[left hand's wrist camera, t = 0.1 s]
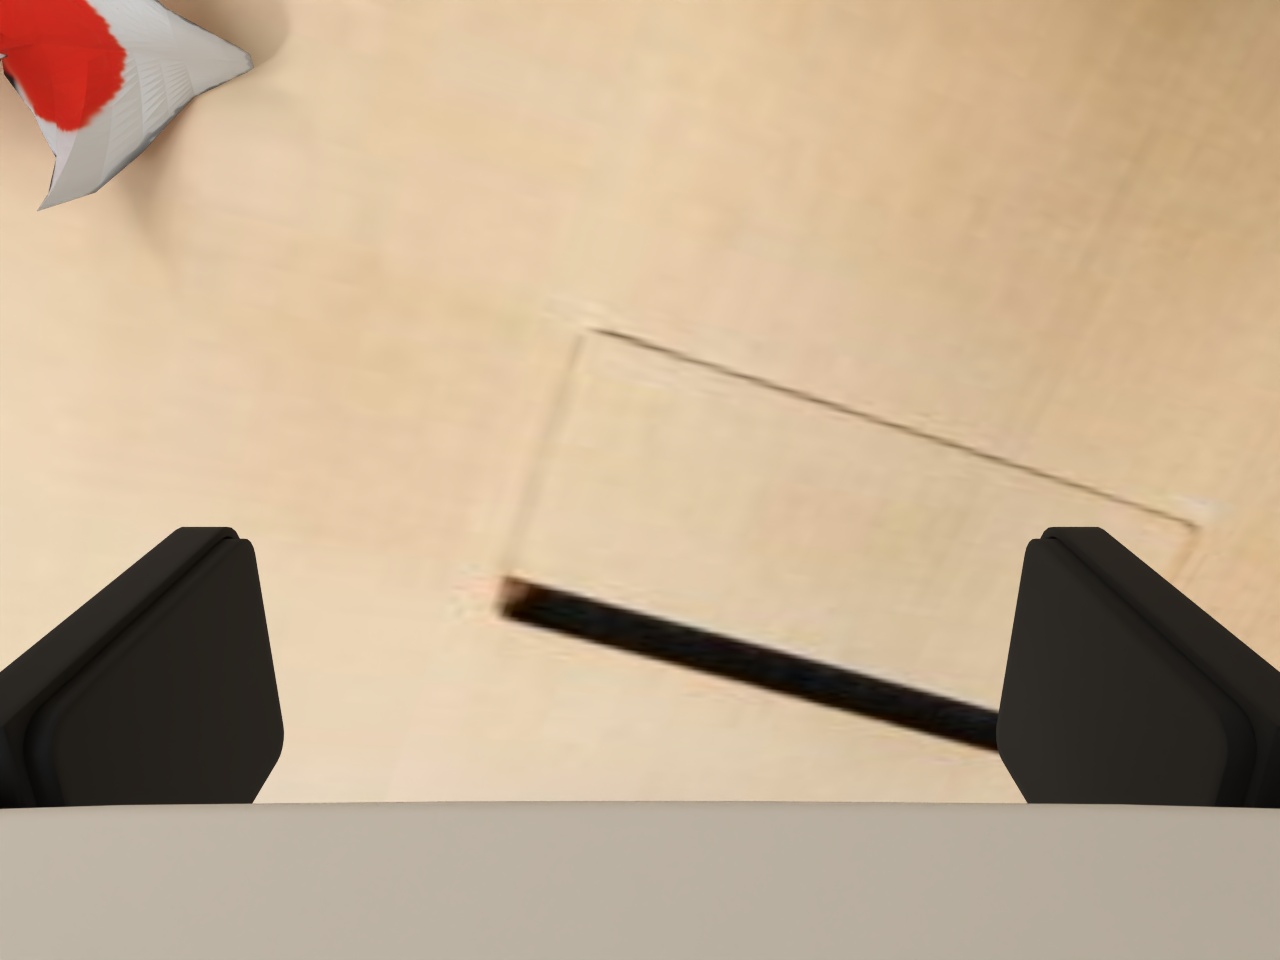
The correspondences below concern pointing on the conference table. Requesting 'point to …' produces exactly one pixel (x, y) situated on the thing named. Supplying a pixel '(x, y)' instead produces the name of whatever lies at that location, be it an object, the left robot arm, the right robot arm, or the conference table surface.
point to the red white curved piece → (106, 79)
